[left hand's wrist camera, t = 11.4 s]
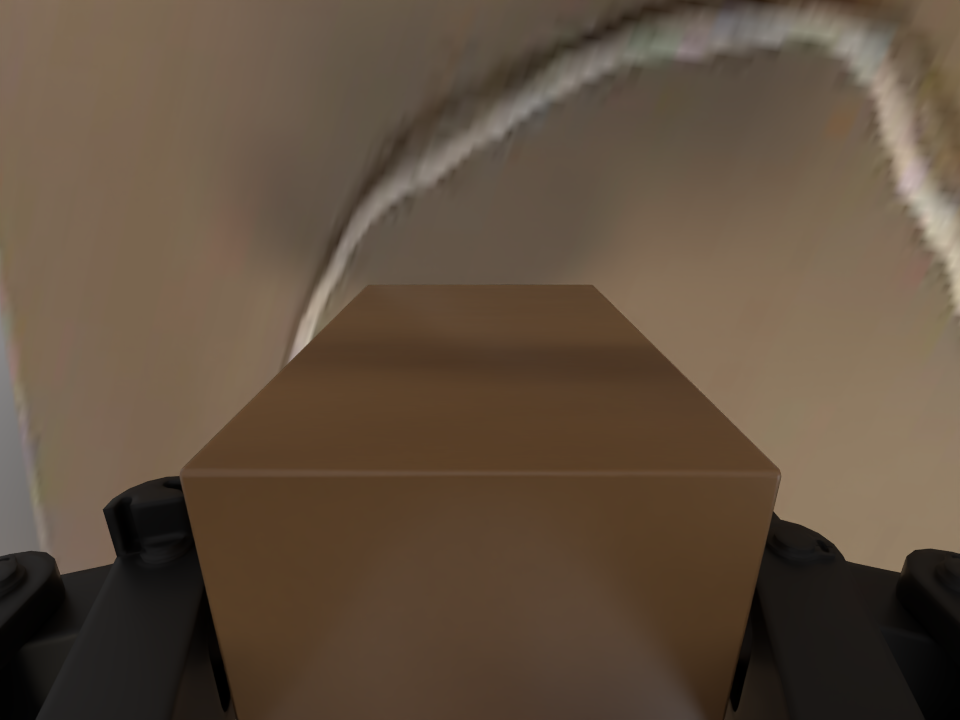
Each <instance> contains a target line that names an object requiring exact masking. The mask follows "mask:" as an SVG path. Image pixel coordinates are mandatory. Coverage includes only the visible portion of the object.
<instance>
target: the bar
mask: <svg viewBox="0 0 960 720" xmlns="http://www.w3.org/2000/svg"><path fill="white" fill-rule="evenodd" d="M780 480H781V472H780V470H779V468H777V467H776V466H775V465H774V464H773V463H772V462H771V461H770V460H769V459H768V458H767V457H766V456H765V455H764V454H763V453H762V452H761V451H760V450H759V449H758V448H757V447H756V446H755V445H754V444H753V443H752V442H751V441H750V440H749V439H748V438H747V437H746V436H745V435H744V434H743V433H742V432H741V431H740V430H739V429H738V428H737V427H736V426H735V425H734V424H733V423H732V422H731V421H730V420H729V419H728V418H727V417H726V416H725V415H724V414H723V413H722V412H721V411H720V410H719V409H718V408H717V407H716V406H715V405H714V404H713V403H712V402H711V401H710V400H709V399H708V398H707V397H706V396H705V395H704V394H703V393H702V392H701V391H699V390H698V389H697V388H696V387H695V386H694V385H693V384H692V383H691V382H690V381H689V380H688V379H687V378H686V377H685V376H684V375H683V374H682V373H681V372H680V371H679V370H678V369H677V368H676V367H675V366H674V365H673V364H672V363H671V362H670V361H669V360H668V359H667V358H666V357H665V356H664V355H663V354H662V353H661V352H660V351H659V350H658V349H657V348H656V347H655V346H654V345H653V344H652V343H651V342H650V341H649V340H648V339H647V338H646V337H645V336H644V335H643V334H642V333H641V332H640V331H639V330H638V329H637V328H636V327H635V326H634V325H633V324H632V323H631V322H630V321H629V320H628V319H627V318H626V317H625V316H624V315H623V314H621V313H620V312H619V311H618V310H617V309H616V308H615V307H614V306H613V305H612V304H611V303H610V302H609V301H608V300H607V299H606V298H605V297H604V296H603V295H602V294H601V293H600V292H599V291H598V290H597V289H596V288H595V287H594V286H593V285H367V286H366V287H365V288H364V289H363V290H362V291H361V292H360V293H359V294H358V295H357V296H356V297H355V298H354V299H353V300H352V301H351V302H350V303H349V304H348V305H347V306H346V307H345V308H344V309H343V310H342V311H341V312H340V313H339V314H338V315H337V316H336V317H335V318H334V319H333V320H332V321H331V322H330V323H329V324H328V325H327V326H326V327H325V328H324V329H323V330H322V331H321V332H320V333H319V334H318V335H317V336H316V337H315V338H314V339H313V340H312V341H311V342H310V343H309V344H308V345H307V346H306V347H304V348H303V349H302V350H301V351H300V352H299V353H298V354H297V355H296V356H295V357H294V358H293V359H292V360H291V361H290V362H289V363H288V364H287V365H286V366H285V367H284V368H283V369H282V370H281V371H280V372H279V373H278V374H277V375H276V376H275V377H274V378H273V379H272V380H271V381H270V382H269V383H268V384H267V385H266V386H265V387H264V388H263V389H262V390H261V391H260V392H259V393H258V394H257V395H256V396H255V397H254V398H253V399H252V400H251V401H250V402H249V403H248V404H247V405H246V406H245V407H244V408H243V409H242V410H241V411H240V412H239V413H238V414H237V415H236V416H235V417H234V418H233V419H232V420H231V421H230V422H229V423H228V424H227V425H226V426H225V427H224V428H223V429H222V430H221V431H220V432H219V433H217V434H216V435H215V436H214V437H213V438H212V439H211V440H210V441H209V442H208V443H207V444H206V445H205V446H204V447H203V448H202V449H201V450H200V451H199V452H198V453H197V454H196V455H195V456H194V457H193V458H192V459H191V460H190V461H189V462H188V463H187V464H186V465H185V466H184V467H183V468H182V469H181V472H180V481H181V485H182V490H183V494H184V498H185V502H186V507H187V511H188V515H189V520H190V524H191V528H192V532H193V537H194V541H195V545H196V550H197V554H198V558H199V562H200V567H201V571H202V575H203V580H204V584H205V588H206V592H207V597H208V601H209V605H210V610H211V614H212V618H213V622H214V627H215V631H216V635H217V640H218V644H219V648H220V652H221V657H222V661H223V665H224V670H225V674H226V678H227V682H228V687H229V691H230V695H231V700H232V704H233V708H234V712H235V717H236V720H724V719H725V715H726V711H727V706H728V702H729V698H730V693H731V689H732V685H733V681H734V676H735V672H736V668H737V664H738V659H739V655H740V651H741V646H742V642H743V638H744V634H745V629H746V625H747V621H748V617H749V612H750V608H751V604H752V600H753V595H754V591H755V587H756V582H757V578H758V574H759V570H760V565H761V561H762V557H763V553H764V548H765V544H766V540H767V536H768V531H769V527H770V523H771V518H772V514H773V510H774V506H775V501H776V497H777V493H778V489H779V484H780Z"/></svg>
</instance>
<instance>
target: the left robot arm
mask: <svg viewBox="0 0 960 720" xmlns="http://www.w3.org/2000/svg"><path fill="white" fill-rule="evenodd" d="M103 512H104V515H105V518H106V522H107V525H108V528H109V532H110V535H111V538H112V542H113V545H114V548H115V552H116V555H117V558H116V560H115V562H114V564H110V565H106V566H101V567H97V568H92V569H87V570H82V571H78V572H73V573H68V574H63V575H60V572H59V570H58V567H57V564H56V561H55V559H54V558H53V557H52V556H50V555H49V554H48V553H46V552H37V551H27V552H21V553H14V554H9V555H5V556H1V557H0V720H236V717H235V712H234V708H233V704H232V700H231V695H230V691H229V687H228V682H227V678H226V674H225V670H224V665H223V661H222V657H221V652H220V648H219V644H218V640H217V635H216V631H215V627H214V622H213V618H212V614H211V610H210V605H209V601H208V597H207V592H206V588H205V584H204V580H203V575H202V571H201V567H200V562H199V558H198V554H197V550H196V545H195V541H194V537H193V532H192V528H191V524H190V520H189V515H188V511H187V507H186V502H185V498H184V494H183V490H182V485H181V481H180V476H174V477H164V478H160V479H156V480H151V481H147V482H145V483H142V484H140V485H137V486H135V487H132V488H130V489H128V490H126V491H125V492H123V493H121V494H120V495H118V496H117V497H115V498H113V499H112V500H111V501H110V502H109V504H108V505H107V506H106V507H105V508H104V509H103ZM725 720H960V554H958V553H954V552H949V551H943V550H936V549H921V550H914V551H913V552H912V553H910V554H909V555H908V556H907V557H906V560H905V563H904V565H903V568H902V571H901V573H899V572H894V571H889V570H884V569H880V568H875V567H870V566H865V565H861V564H856V563H852V562H848V561H845V559H844V557H843V555H842V554H841V553H840V551H839V550H838V549H837V548H836V546H835V545H834V544H833V543H831V542H830V541H829V540H827V539H826V538H825V537H823V536H822V535H820V534H819V533H817V532H815V531H813V530H810V529H808V528H806V527H804V526H802V525H799V524H795V523H791V522H788V521H784V520H780V518H779V517H778V516H777V515H776V514H775V513H774V512H773V514H772V518H771V523H770V527H769V531H768V536H767V540H766V544H765V548H764V553H763V557H762V561H761V565H760V570H759V574H758V578H757V582H756V587H755V591H754V595H753V600H752V604H751V608H750V612H749V617H748V621H747V625H746V629H745V634H744V638H743V642H742V646H741V651H740V655H739V659H738V664H737V668H736V672H735V676H734V681H733V685H732V689H731V693H730V698H729V702H728V706H727V711H726V715H725Z"/></svg>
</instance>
